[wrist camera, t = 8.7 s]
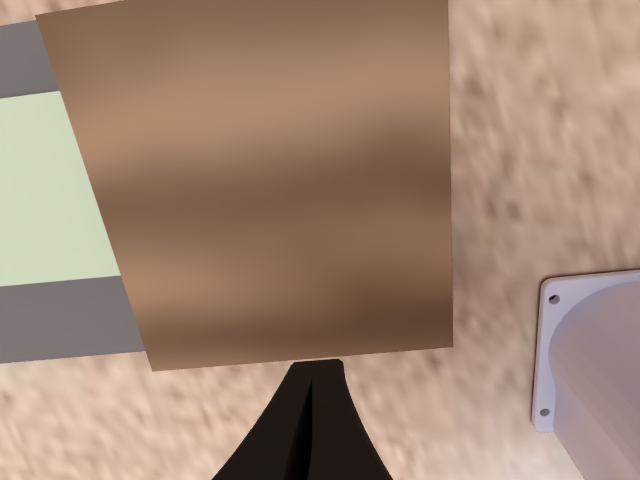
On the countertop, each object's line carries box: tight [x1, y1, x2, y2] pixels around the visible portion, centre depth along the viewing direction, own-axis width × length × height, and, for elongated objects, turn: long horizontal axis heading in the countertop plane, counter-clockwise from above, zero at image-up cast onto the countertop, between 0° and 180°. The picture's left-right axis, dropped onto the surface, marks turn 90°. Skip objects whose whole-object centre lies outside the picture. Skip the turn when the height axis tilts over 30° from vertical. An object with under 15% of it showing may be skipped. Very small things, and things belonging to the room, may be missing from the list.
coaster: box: [0, 91, 121, 286], centre depth 18 cm, size 8×8×2 cm
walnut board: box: [35, 0, 453, 371], centre depth 17 cm, size 15×14×3 cm
